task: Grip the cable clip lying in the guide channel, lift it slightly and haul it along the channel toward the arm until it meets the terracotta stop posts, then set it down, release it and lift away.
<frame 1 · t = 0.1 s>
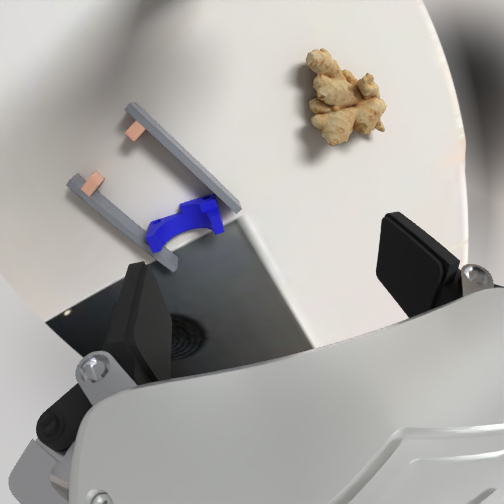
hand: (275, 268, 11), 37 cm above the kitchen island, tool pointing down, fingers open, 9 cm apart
ginger root: (340, 100, 43), on the kitchen island
cable clip: (184, 214, 49), on the kitchen island
guide channel: (153, 187, 45), on the kitchen island
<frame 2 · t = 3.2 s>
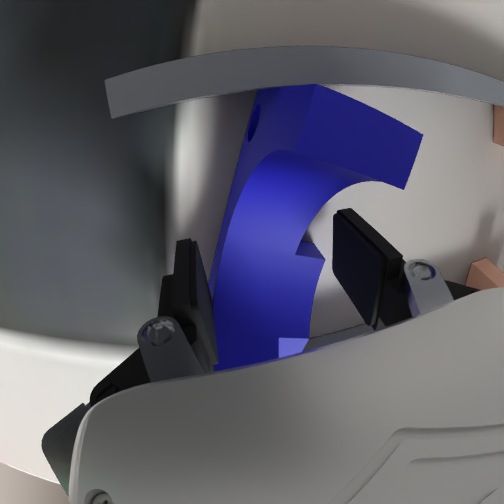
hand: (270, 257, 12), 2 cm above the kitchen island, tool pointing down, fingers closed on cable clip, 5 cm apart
cable clip: (269, 233, 13), on the kitchen island, touching gripper
guide channel: (406, 221, 14), on the kitchen island
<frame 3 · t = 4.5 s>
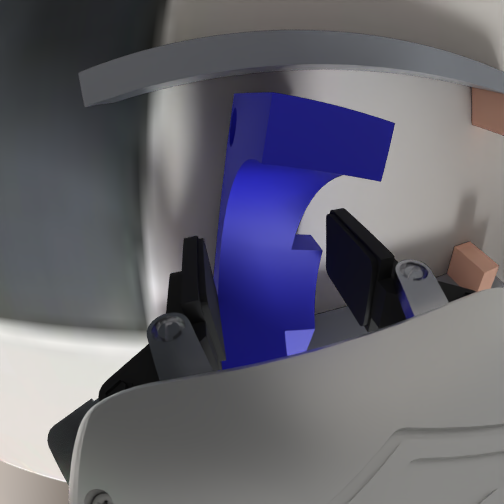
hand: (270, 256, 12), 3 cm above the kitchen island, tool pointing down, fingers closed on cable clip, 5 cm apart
cable clip: (265, 230, 14), on the kitchen island, touching gripper
guide channel: (380, 202, 15), on the kitchen island
when the fingers open (3 cm above the kitchen island, at t = 7.5 s): cable clip stays where it is, on the kitchen island.
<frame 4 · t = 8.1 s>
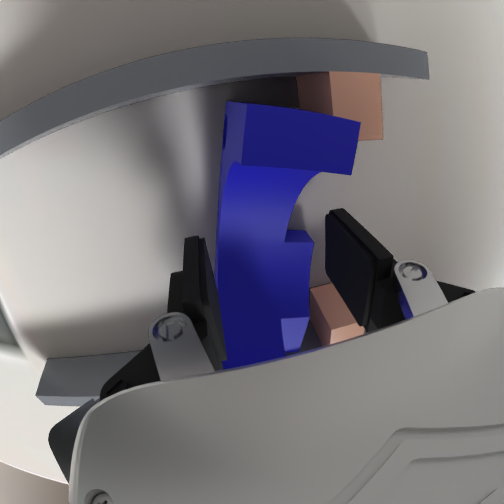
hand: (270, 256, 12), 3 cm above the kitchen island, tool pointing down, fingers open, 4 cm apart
cable clip: (261, 226, 15), on the kitchen island
guide channel: (159, 247, 14), on the kitchen island
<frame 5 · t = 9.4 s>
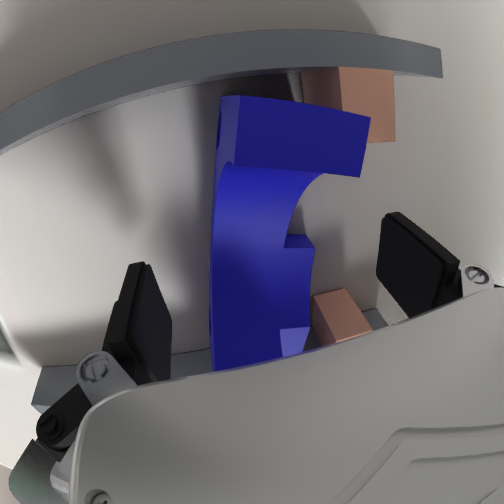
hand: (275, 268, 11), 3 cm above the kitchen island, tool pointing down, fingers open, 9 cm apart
cable clip: (258, 230, 14), on the kitchen island
guide channel: (154, 255, 13), on the kitchen island
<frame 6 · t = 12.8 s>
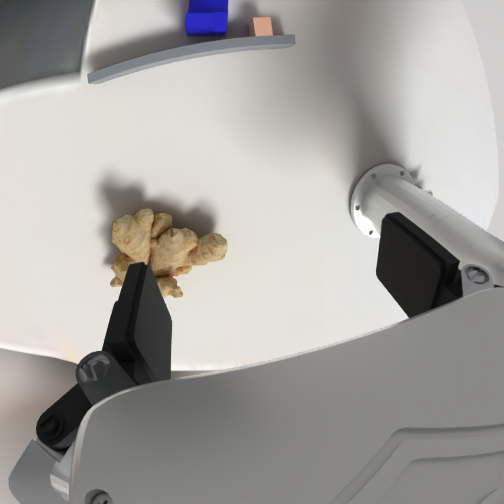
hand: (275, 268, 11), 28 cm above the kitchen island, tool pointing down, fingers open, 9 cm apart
ginger root: (157, 247, 41), on the kitchen island
guide channel: (182, 3, 24), on the kitchen island
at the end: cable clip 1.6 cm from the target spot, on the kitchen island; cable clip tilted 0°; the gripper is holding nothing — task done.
